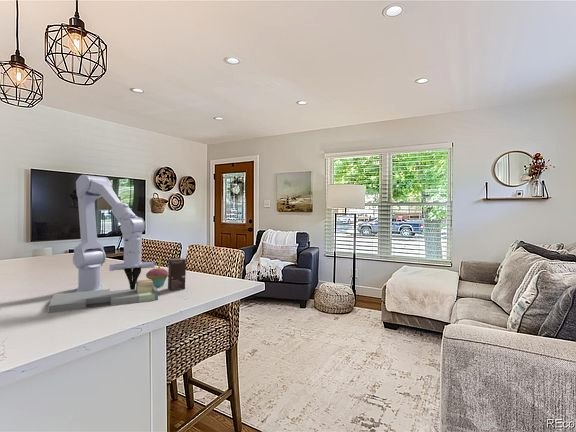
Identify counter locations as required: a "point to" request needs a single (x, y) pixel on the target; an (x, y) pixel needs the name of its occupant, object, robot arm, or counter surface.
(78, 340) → the counter surface
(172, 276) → the box
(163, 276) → the cupcake
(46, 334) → the counter surface
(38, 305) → the counter surface
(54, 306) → the track
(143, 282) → the block
